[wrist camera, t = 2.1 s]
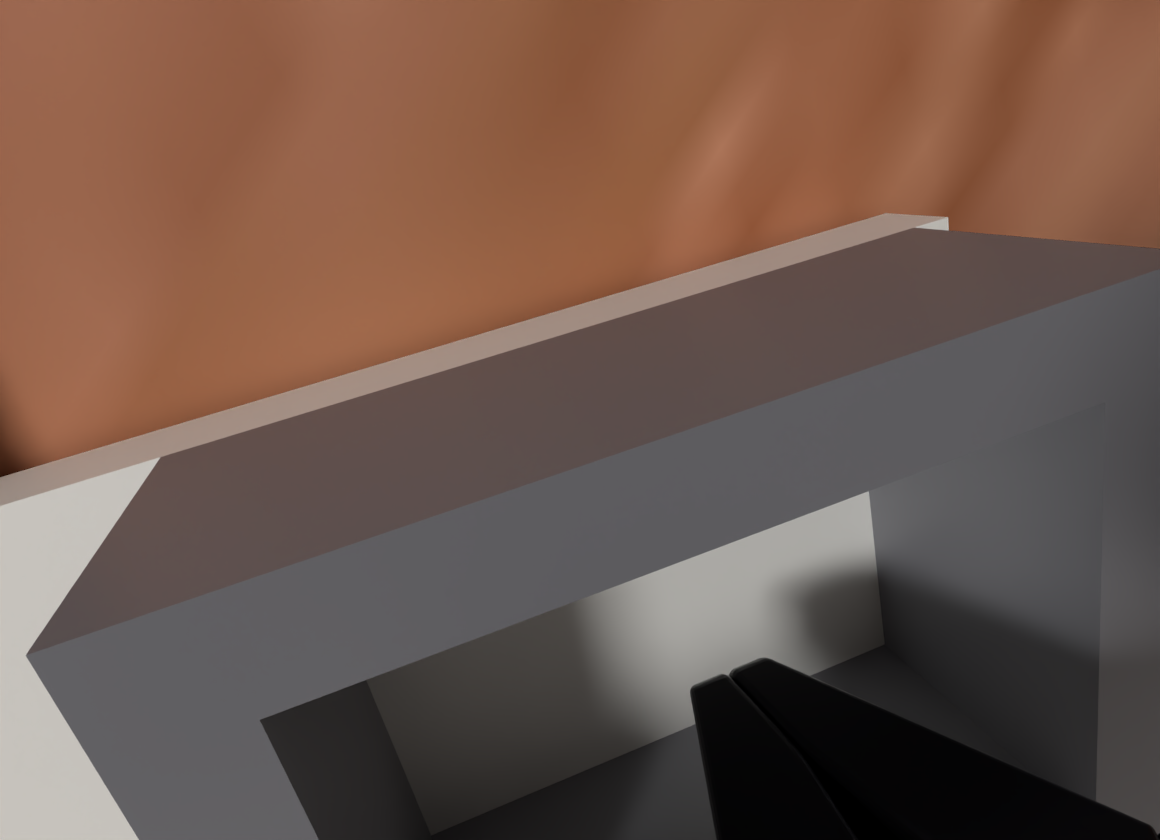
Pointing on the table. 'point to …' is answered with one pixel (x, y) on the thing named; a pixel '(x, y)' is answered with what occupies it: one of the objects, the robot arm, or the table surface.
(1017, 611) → the grey open storage bin
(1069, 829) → the robot arm
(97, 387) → the table surface
